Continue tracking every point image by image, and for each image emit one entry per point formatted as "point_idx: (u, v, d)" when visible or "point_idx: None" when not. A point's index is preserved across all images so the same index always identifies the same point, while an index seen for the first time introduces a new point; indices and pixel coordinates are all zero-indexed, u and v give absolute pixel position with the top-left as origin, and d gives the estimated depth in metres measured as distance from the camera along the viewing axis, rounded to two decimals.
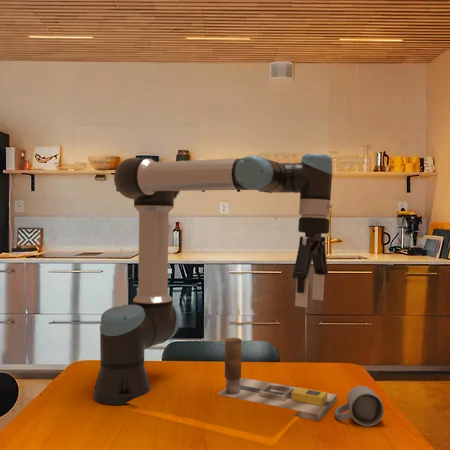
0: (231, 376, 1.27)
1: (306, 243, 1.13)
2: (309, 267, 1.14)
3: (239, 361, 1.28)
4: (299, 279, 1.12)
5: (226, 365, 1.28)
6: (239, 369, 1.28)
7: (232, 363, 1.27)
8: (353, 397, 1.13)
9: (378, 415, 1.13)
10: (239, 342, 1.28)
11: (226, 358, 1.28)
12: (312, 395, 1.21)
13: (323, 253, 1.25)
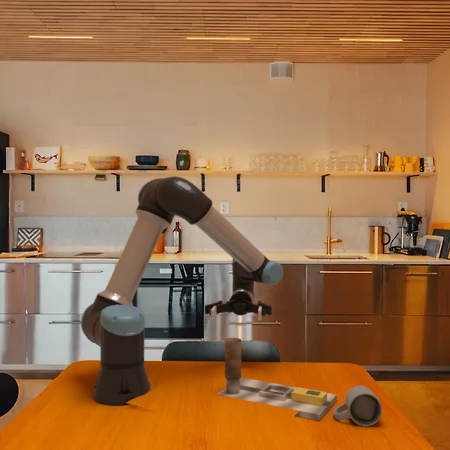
0: (231, 376, 1.27)
1: None
2: None
3: (239, 361, 1.28)
4: (265, 310, 1.44)
5: (226, 365, 1.28)
6: (239, 369, 1.28)
7: (232, 363, 1.27)
8: (351, 397, 1.13)
9: (376, 415, 1.13)
10: (239, 342, 1.28)
11: (226, 358, 1.28)
12: (312, 395, 1.21)
13: None
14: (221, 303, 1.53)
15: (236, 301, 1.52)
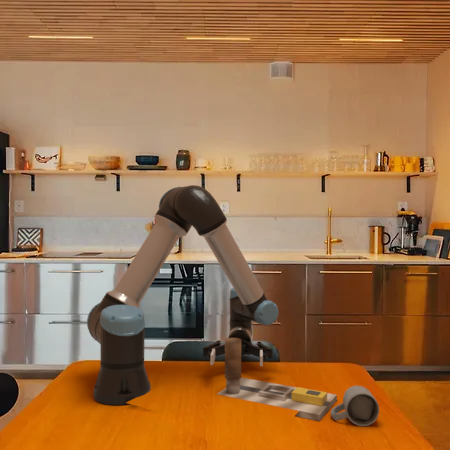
0: (231, 376, 1.27)
1: None
2: (257, 356, 1.41)
3: (239, 361, 1.28)
4: (266, 354, 1.38)
5: (226, 365, 1.28)
6: (239, 369, 1.28)
7: (232, 363, 1.27)
8: (349, 397, 1.13)
9: (374, 415, 1.13)
10: (239, 342, 1.28)
11: (226, 358, 1.28)
12: (312, 395, 1.21)
13: None
14: (219, 344, 1.47)
15: None
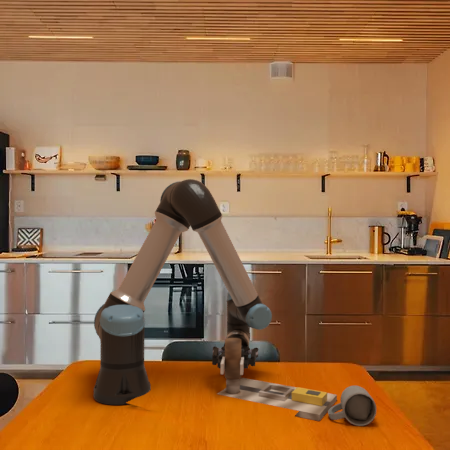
0: (231, 376, 1.27)
1: (256, 355, 1.39)
2: None
3: (239, 361, 1.28)
4: (248, 361, 1.30)
5: (226, 365, 1.28)
6: (239, 369, 1.28)
7: (232, 363, 1.27)
8: (346, 397, 1.13)
9: (371, 415, 1.13)
10: (239, 342, 1.28)
11: (226, 358, 1.28)
12: (312, 395, 1.21)
13: None
14: (218, 349, 1.39)
15: None
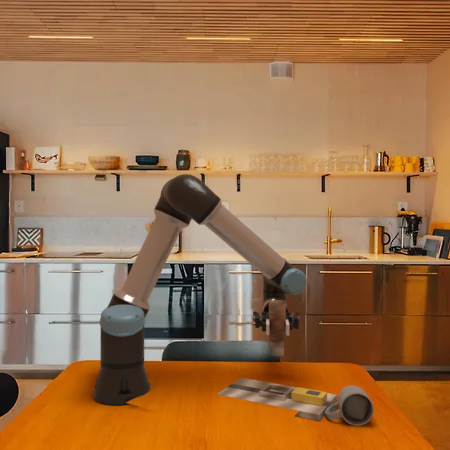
0: (276, 337, 1.25)
1: None
2: None
3: (284, 323, 1.26)
4: (292, 324, 1.28)
5: (271, 327, 1.26)
6: (284, 331, 1.26)
7: (277, 324, 1.25)
8: (343, 397, 1.13)
9: (368, 415, 1.13)
10: (284, 303, 1.26)
11: (270, 320, 1.26)
12: (312, 395, 1.21)
13: None
14: (258, 314, 1.38)
15: None
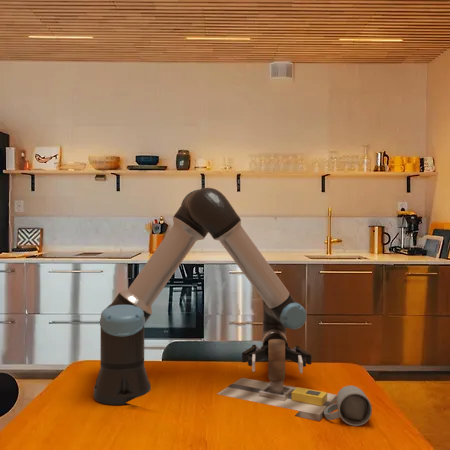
0: (275, 378, 1.25)
1: None
2: (295, 361, 1.33)
3: (283, 363, 1.26)
4: (305, 359, 1.29)
5: (271, 367, 1.26)
6: (283, 371, 1.26)
7: (277, 365, 1.25)
8: (341, 397, 1.13)
9: (366, 415, 1.13)
10: (283, 343, 1.26)
11: (270, 360, 1.26)
12: (312, 395, 1.21)
13: None
14: (256, 348, 1.39)
15: None
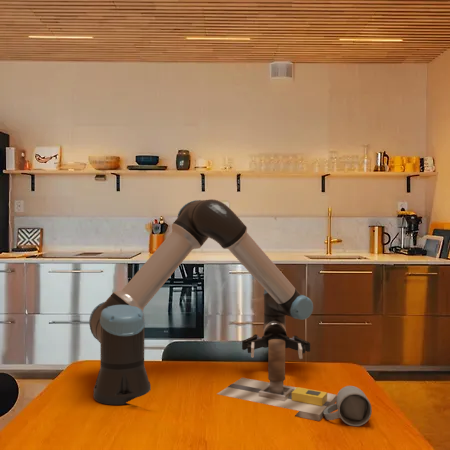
0: (275, 378, 1.25)
1: None
2: None
3: (283, 363, 1.26)
4: (304, 347, 1.42)
5: (271, 367, 1.26)
6: (283, 371, 1.26)
7: (277, 365, 1.25)
8: (341, 397, 1.13)
9: (366, 415, 1.13)
10: (283, 343, 1.26)
11: (270, 360, 1.26)
12: (312, 395, 1.21)
13: None
14: (257, 337, 1.51)
15: (272, 336, 1.50)
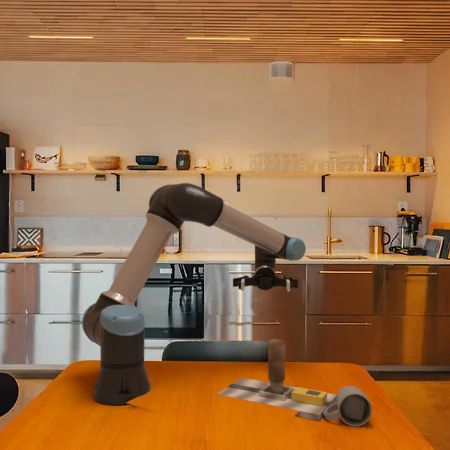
0: (275, 378, 1.25)
1: None
2: (283, 286, 1.51)
3: (283, 363, 1.26)
4: (292, 283, 1.48)
5: (270, 367, 1.26)
6: (283, 371, 1.26)
7: (277, 365, 1.25)
8: (341, 397, 1.13)
9: (366, 415, 1.13)
10: (283, 343, 1.26)
11: (270, 360, 1.26)
12: (312, 395, 1.21)
13: None
14: (247, 277, 1.57)
15: (262, 276, 1.56)
